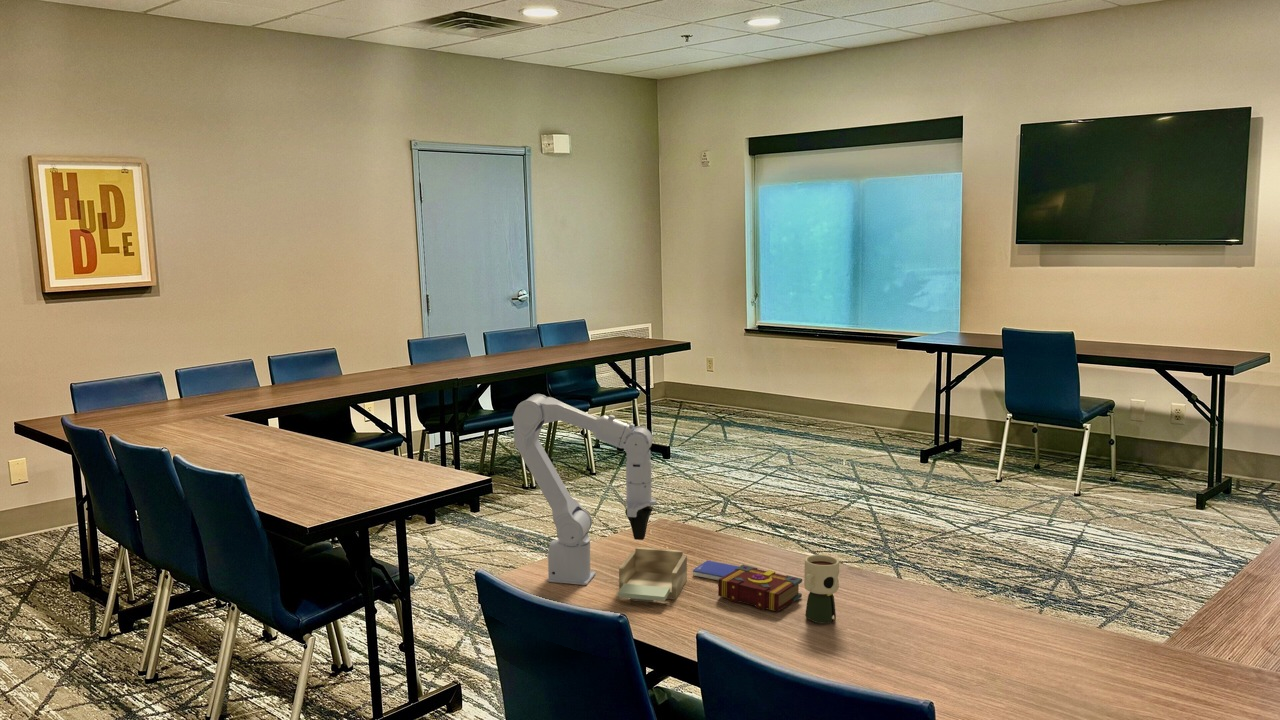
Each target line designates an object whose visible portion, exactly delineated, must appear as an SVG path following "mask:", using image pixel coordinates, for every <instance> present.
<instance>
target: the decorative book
mask: <svg viewBox="0 0 1280 720" xmlns="http://www.w3.org/2000/svg"><path fill="white" fill-rule="evenodd" d="M801 583H803V578H802V577H801V578H800V577H795V576H792V575H788V574H786V575H783V574H779V573H776V571H774V570H770V569H768V570H762V569H760V568H758V567H755V566H749V565H747V564H742V565H740V566H739V567H738V568H736V569H735V570H734V571H733V572H731V573H729V574H727V575H725V576H724V577H722V578H720V579H719V580H718V584H717V587H718V590H717V593H718V595H717V596H718V597H720V598H725V599H728V601H730V602H732V603H737V604H738V603H743V604H747V605H751V606H755V608H756V609H758V610H763V611H765V610H770V611H774V612H779V611H781V610H782V609H784V608H785V607H787V606H788V605H790V604H791V603H792V602H793V603H795V602H796V601H797V600H800V599H801V598H802V597H803V594H802V593H800V592H799V590H800V588H799V585H800V584H801Z"/></svg>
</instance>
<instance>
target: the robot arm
mask: <svg viewBox="0 0 1280 720" xmlns="http://www.w3.org/2000/svg"><path fill="white" fill-rule="evenodd" d="M511 419H512V422H513V442H514V446H515V447H516V449H517V451H518V452H519V455H520V456H521V458H522V459H523V461H524V463H525V465H526V467H527V468H528V470H529V472H530V474H531V475H532V477H533V479H534V480H535V482H536V484H537V485H538V487H539V490H540V491H541V493H542V495H543V496H544V498H545V499H546V502H547V503H548V505H549V507H550V508H551V511H552V522H553V523H554V525H555V528H556V536H557V538H558V539H553V540H551V542H550V544H549V547H548V550H547V551H548V553H547V558H548V559H547V561H548V562H547V563H548V564H547V565H548V567H547V568H548V569H547V572H548V575H547V576H548V578H547V582H548V583H559V584H568V585H569V584H570V585H581V586H586V585H588V584H589V583H590V581H591V580H593V578H594V577H595V576H596V573H597V572H596V571H593V570H591V537H590V535H589V534H588V533H589V532H588V531H589V530H590V529H591V527H592V525H593V524H592V523H593V519H592V516H591V515H590V513H589V511H587V510H586V509H584V508H583V507H582V506H581V505H580V503H579V501H577V500H576V499H575V498H573V497H572V496H571V494H570V493H569V491H568V489H567V486H566V485H565V484H564V481H563V480H562V478H561V477H560V475H559V473H558V472H557V469H556V468H555V466H554V464H553V462H552V461H551V459H550V458H549V456H548V454H547V452H546V450H545V448H544V447H543V445H542V443H541V441H540V439H539V437H540V434H541V431H542V428H543V426H544V424H548V423H553V422H557V421H560V422H564V423H567V424H569V425H572V426H575V427H578V428H581V429H584V430H587V431H589V432H592V434H593V436H594V438H595V440H599V441H601V442H603V443H606V444H609V445H611V446H614V447H616V448H619V449H623V450H624V451H625V452H624V453H626V461H625V473H626V474H625V481H626V487H625V488H626V494H625V495H626V496H625V497H626V498H625V505H626V509H625V512H624V513H625V516H626V517H627V519H628V521H629V523H630V527H631V531H632V532H631V533H632V535H633V539H634V541H635V540H636V541H637V540H639V541H643V540H645V537H646V532H647V527H648V524H649V523H648V522H649V519H650V516H651V514H652V511H653V510H654V509H653V506H654V505H656V504H657V502H658V500H657V499H653V498H652V460H651V457H652V455H651V447H652V444H653V440H654V439H653V438H654V437H653V435H652V433H651V431H650V430H649V429H648V428H646V427H645V426H643V425H637V426H635V424H634V423H632V422H630V423H626V422H625V421H622V420H619V419H616V416H615V415H613V414H609V415H606V414H604V415H602V416H599V417H596V416H594V415H592V414H589V413H588V412H585V411H583V410H580V409H578V408H576V407H574V406H572V405H569V404H567V403H564V402H563V401H561V400H558V399H556V398H554V397H552V396H546V395H545V394H541V393H536V394H535V393H534V394H533V395H531V396H529V397H528V398H527V399H525V400H523V401H521V402H520V403H518V404H517V406H516V408H515V409H514V413H513V414H512V417H511Z"/></svg>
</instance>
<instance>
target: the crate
mask: <svg viewBox="0 0 1280 720" xmlns="http://www.w3.org/2000/svg"><path fill="white" fill-rule="evenodd" d="M634 549H635V550H632V551H631V552H630V553H629V554H628V556H627V557H626V558H625V560H624V561H623V563H622V564H621V565H620V566H619V568H618V591H619V590H620V588H621V587H622V586H623V584H635V585H646V586H658V587H669V588H670V593H669V594H668V596H667V598H666V599H668V600H669V599H670V600H677V599H678V597H679V595H680V594H681V591H682V589H683V588H684V586H685V584H686V582H687V580H688V576H687V575H688V573H687V572H688V564H687V563H688V554H683V552H684V551H683V550H678V549H668V548H667V549H664V548H654V547H642V546H641V547H638V546H636V547H635V548H634Z"/></svg>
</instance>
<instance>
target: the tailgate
mask: <svg viewBox="0 0 1280 720" xmlns="http://www.w3.org/2000/svg"><path fill="white" fill-rule="evenodd" d="M669 593H670V588H669V587H658V586H646V585H635V584H623V586H622V587H621V588H620V590H619V589H618V591H617V598H625V599H630V600H631V601H640V602H650V603H653V602H654V601H656V602H657V601H658V602H665V601H666V599H667V596H668V594H669Z"/></svg>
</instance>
